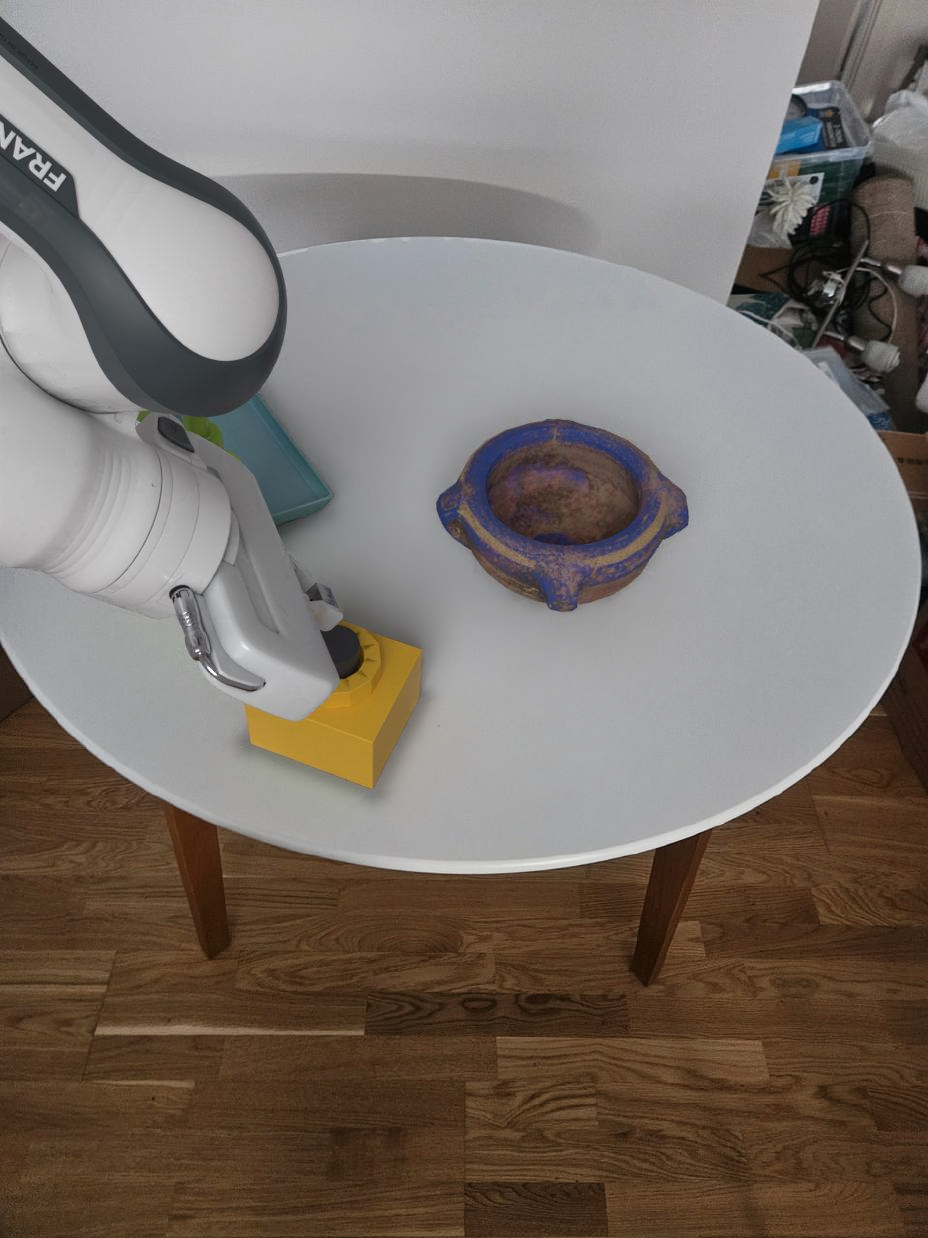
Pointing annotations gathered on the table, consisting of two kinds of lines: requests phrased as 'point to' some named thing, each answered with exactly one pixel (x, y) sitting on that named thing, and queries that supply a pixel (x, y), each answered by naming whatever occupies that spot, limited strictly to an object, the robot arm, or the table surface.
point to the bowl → (562, 511)
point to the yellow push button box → (351, 714)
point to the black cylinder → (343, 649)
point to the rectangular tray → (273, 460)
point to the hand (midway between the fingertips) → (330, 608)
